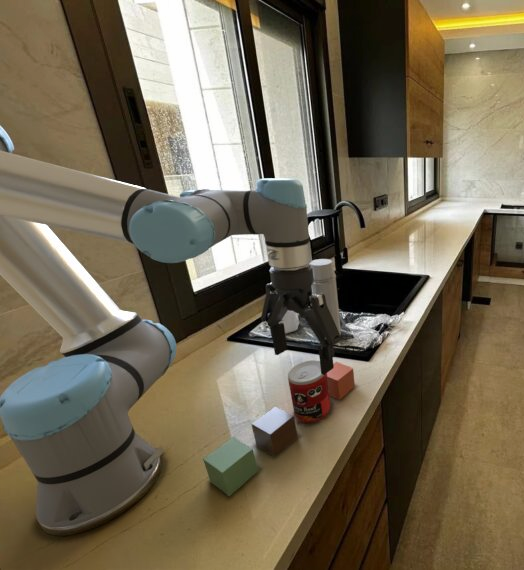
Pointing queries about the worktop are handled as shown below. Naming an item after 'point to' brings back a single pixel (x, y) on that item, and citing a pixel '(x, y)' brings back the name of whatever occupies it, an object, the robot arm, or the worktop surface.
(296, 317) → the jar
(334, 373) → the block terracotta
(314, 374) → the canned food
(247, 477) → the block sage
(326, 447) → the worktop surface
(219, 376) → the worktop surface
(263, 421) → the block walnut
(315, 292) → the water bottle
